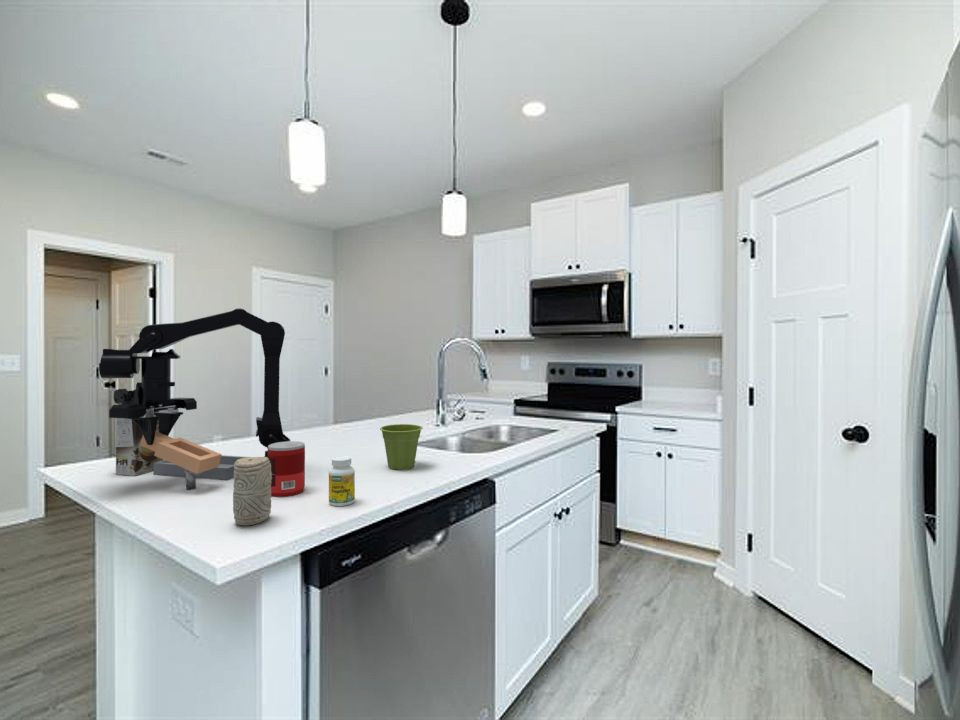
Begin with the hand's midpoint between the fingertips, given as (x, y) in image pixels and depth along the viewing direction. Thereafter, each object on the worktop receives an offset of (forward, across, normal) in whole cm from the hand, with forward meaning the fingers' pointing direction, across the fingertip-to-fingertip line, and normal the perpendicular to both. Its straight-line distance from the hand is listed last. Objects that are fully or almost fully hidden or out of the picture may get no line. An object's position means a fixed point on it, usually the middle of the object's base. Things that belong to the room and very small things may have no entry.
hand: (156, 443), depth 112 cm
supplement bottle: (+10, +1, +49) cm, 50 cm away
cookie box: (+10, -10, -15) cm, 21 cm away
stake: (+10, 0, +10) cm, 14 cm away
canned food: (+10, -3, +33) cm, 34 cm away
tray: (+10, -14, +2) cm, 17 cm away
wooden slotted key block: (+3, 0, +6) cm, 6 cm away
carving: (+10, +15, +38) cm, 42 cm away
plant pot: (+10, -31, +50) cm, 59 cm away
